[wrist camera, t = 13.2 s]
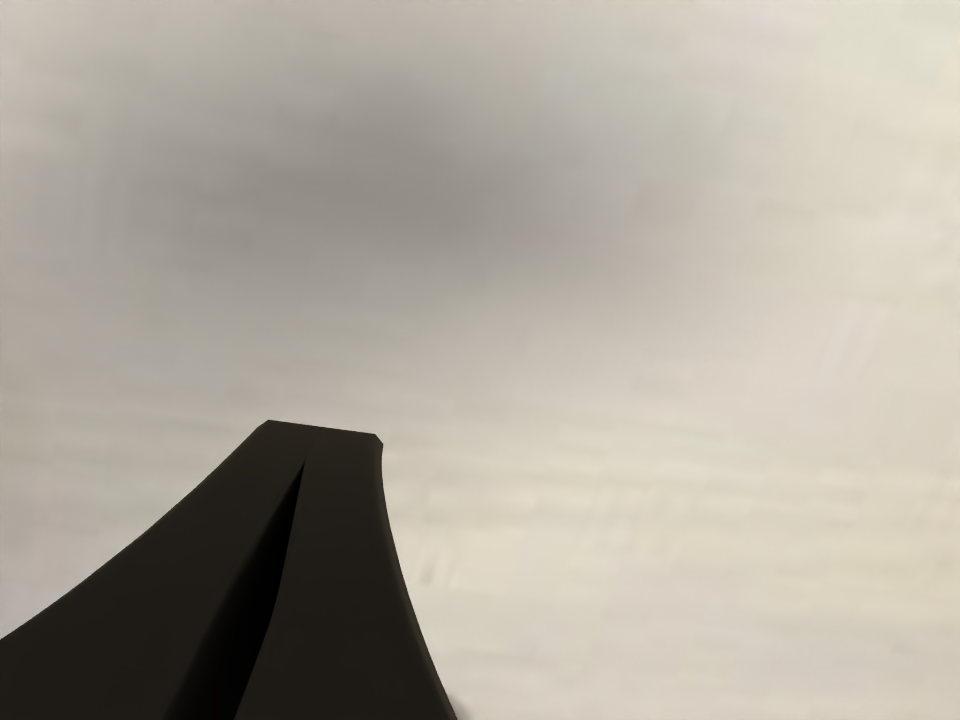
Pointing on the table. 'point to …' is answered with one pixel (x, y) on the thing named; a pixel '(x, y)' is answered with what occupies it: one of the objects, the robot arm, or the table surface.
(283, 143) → the table surface
